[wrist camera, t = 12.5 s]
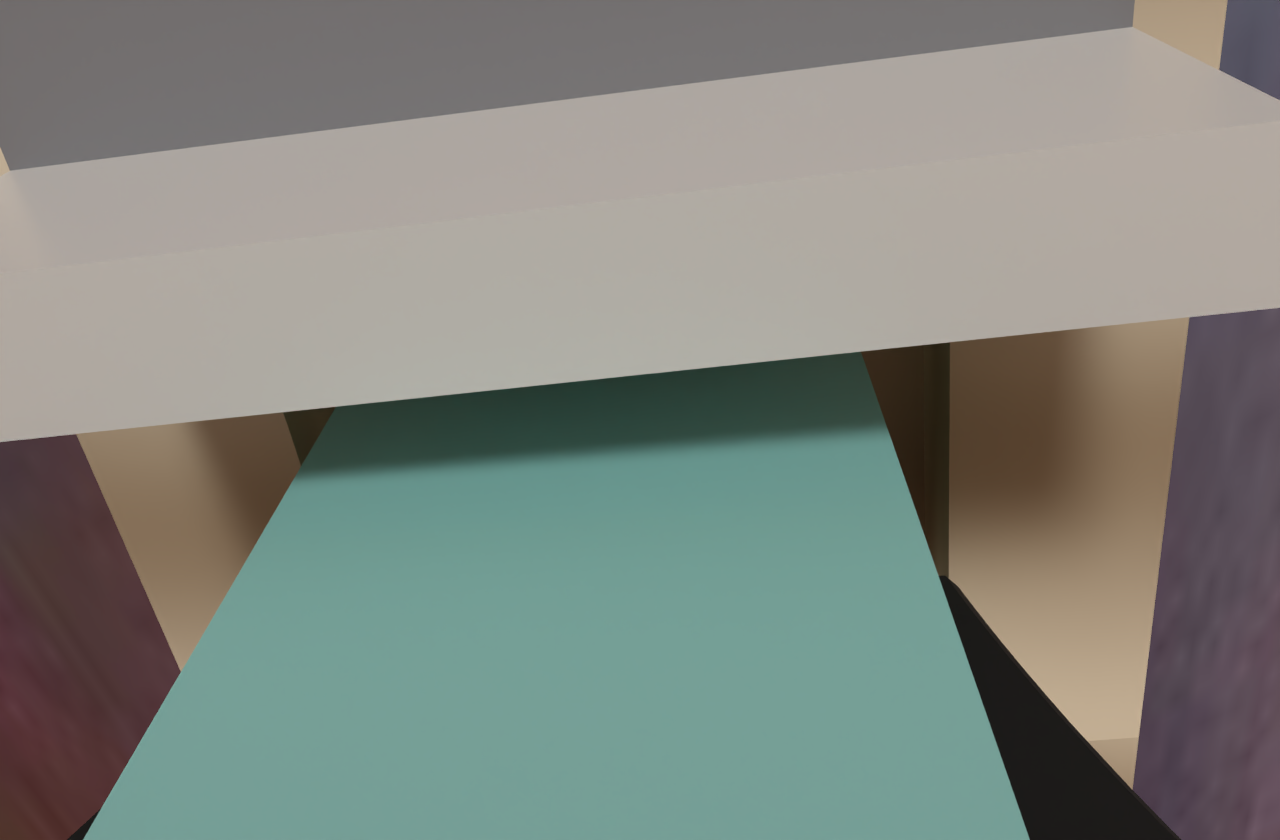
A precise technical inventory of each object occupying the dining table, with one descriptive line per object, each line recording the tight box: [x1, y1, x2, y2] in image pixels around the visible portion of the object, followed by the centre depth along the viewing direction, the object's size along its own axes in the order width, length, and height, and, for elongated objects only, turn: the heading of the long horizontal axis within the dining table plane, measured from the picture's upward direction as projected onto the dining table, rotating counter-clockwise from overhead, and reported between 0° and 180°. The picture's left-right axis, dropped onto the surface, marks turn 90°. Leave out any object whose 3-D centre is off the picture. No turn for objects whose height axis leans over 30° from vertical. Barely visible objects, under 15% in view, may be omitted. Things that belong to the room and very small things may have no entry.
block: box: [83, 352, 1030, 840], centre depth 8 cm, size 4×4×6 cm
